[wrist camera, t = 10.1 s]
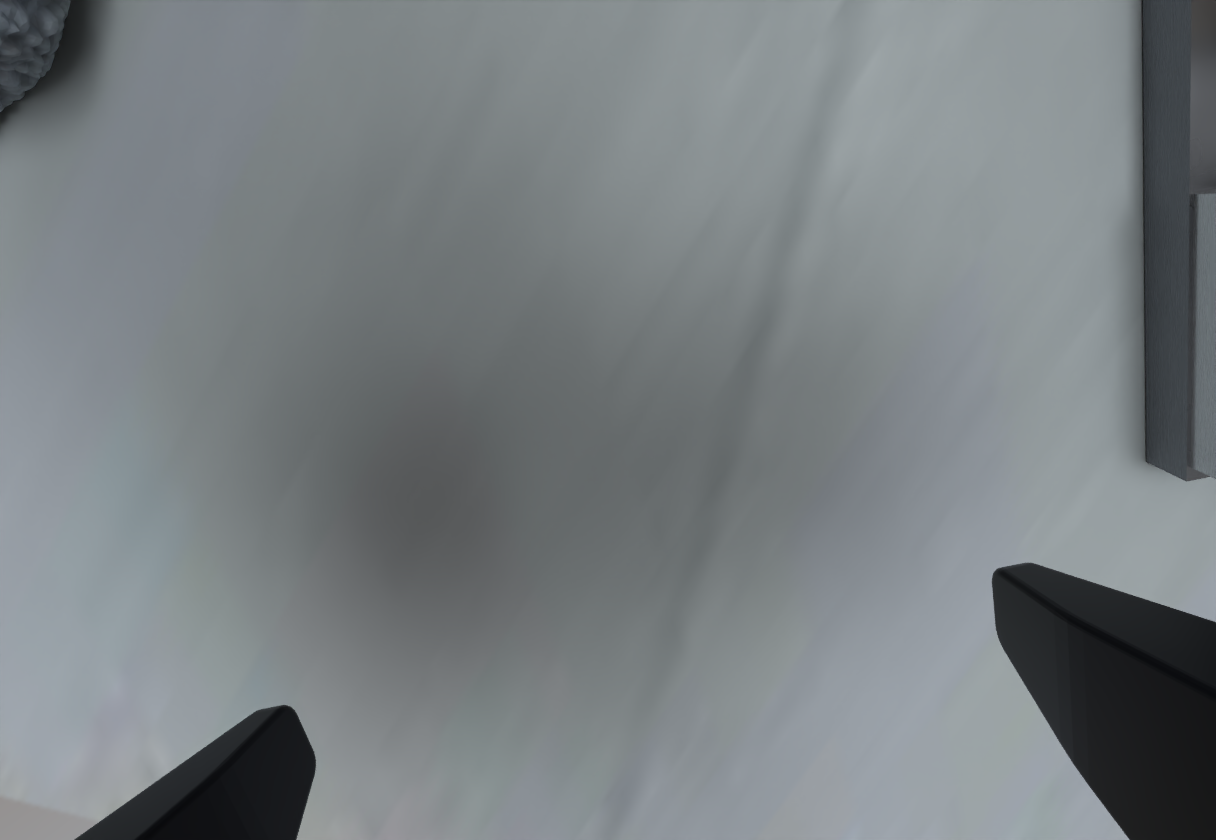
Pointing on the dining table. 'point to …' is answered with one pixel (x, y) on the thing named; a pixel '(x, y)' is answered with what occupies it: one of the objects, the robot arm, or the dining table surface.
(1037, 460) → the dining table surface
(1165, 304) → the rail
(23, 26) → the koala plush
